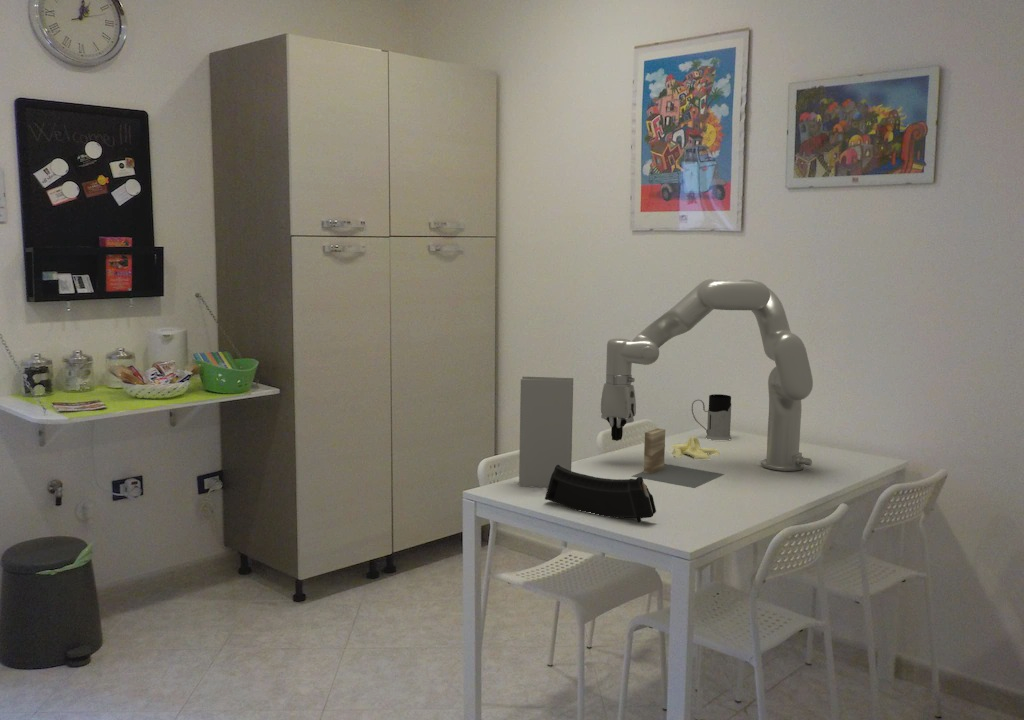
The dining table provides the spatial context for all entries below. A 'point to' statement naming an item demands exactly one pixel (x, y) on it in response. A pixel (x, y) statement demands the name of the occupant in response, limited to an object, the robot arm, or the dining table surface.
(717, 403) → the glass holder
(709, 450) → the cloth
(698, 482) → the mat
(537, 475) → the grey tall flat panel
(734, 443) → the dining table surface
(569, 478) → the magazine
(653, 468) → the tile
